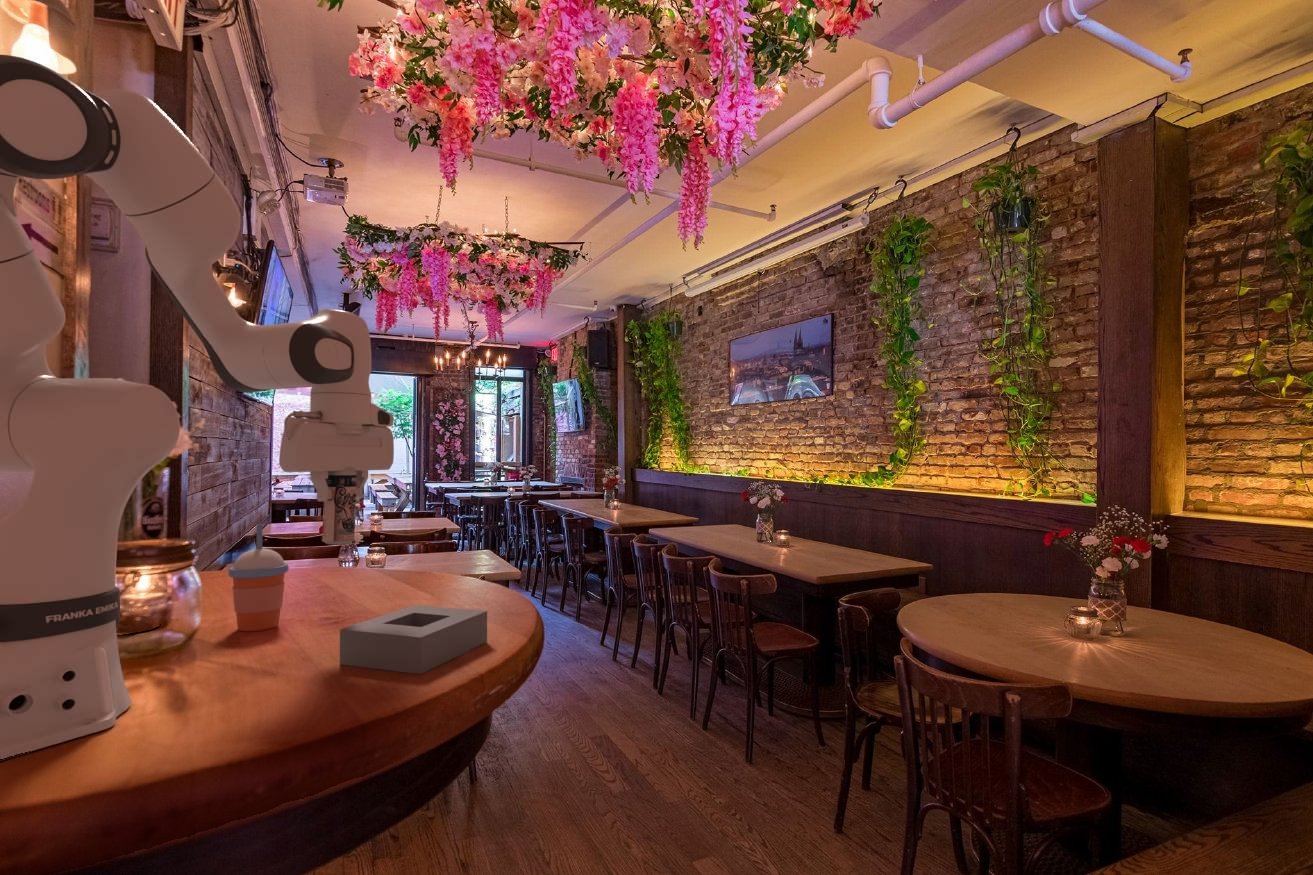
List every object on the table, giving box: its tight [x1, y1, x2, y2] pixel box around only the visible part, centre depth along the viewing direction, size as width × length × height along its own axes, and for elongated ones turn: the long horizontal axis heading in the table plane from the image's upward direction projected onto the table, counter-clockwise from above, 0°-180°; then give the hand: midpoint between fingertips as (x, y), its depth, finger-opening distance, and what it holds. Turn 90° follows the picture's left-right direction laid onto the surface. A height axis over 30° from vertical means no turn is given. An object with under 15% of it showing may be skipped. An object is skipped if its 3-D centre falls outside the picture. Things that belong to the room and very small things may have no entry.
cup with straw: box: [227, 523, 289, 632], centre depth 115 cm, size 9×9×18 cm
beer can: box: [321, 468, 357, 546], centre depth 105 cm, size 5×5×12 cm
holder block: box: [339, 604, 488, 675], centre depth 99 cm, size 16×14×5 cm
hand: (340, 500), depth 105 cm, fingers closed on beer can, 5 cm apart
